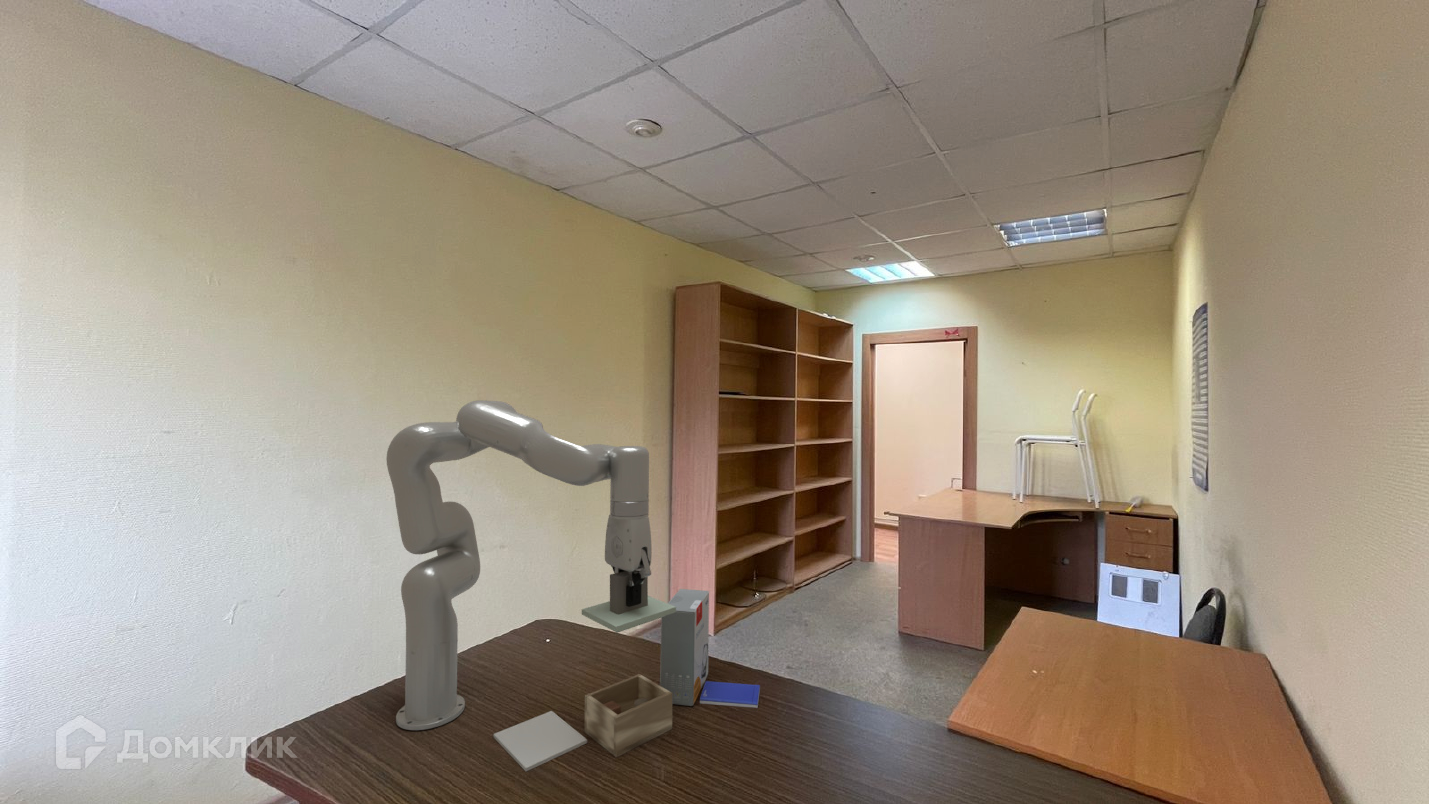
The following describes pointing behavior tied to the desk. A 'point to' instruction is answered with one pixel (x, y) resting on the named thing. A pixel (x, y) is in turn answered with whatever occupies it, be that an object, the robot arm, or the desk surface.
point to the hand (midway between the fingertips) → (628, 601)
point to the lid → (623, 616)
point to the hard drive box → (685, 646)
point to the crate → (628, 714)
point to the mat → (539, 740)
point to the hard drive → (730, 694)
